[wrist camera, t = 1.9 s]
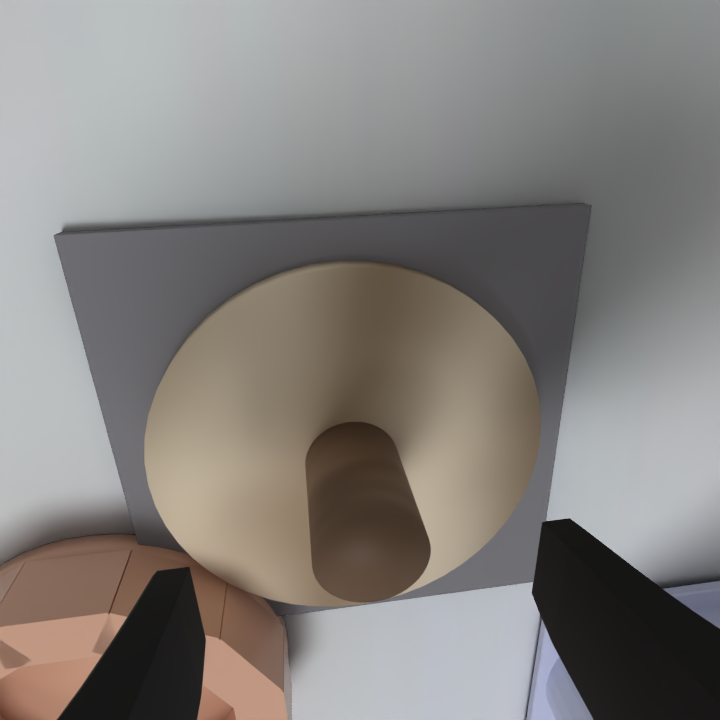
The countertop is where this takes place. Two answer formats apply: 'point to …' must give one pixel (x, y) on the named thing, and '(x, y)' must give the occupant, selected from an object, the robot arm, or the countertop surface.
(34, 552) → the bowl
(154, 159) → the countertop surface
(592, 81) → the countertop surface
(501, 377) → the lid
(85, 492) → the countertop surface
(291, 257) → the mat
